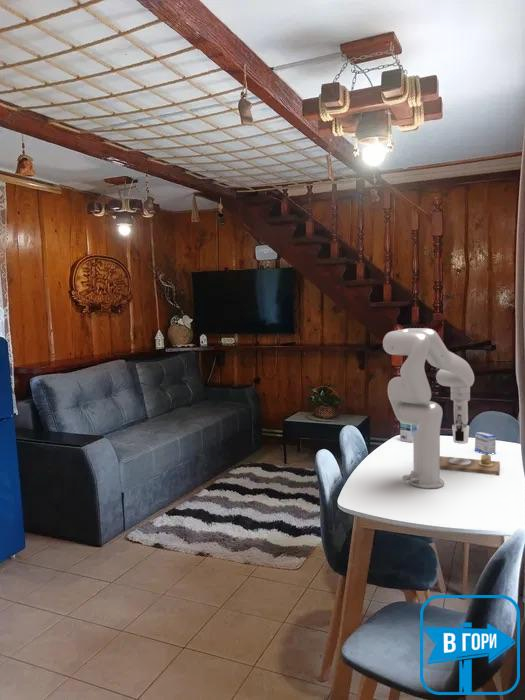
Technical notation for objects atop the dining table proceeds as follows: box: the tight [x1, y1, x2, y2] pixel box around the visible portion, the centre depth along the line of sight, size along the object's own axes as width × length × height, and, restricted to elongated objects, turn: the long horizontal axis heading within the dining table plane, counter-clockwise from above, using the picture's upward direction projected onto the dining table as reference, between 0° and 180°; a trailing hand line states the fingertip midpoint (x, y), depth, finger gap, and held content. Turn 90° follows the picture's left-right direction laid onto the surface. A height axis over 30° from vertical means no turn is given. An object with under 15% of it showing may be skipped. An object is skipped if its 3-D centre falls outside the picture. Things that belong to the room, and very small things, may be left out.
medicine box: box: [474, 431, 497, 455], centre depth 238 cm, size 8×4×9 cm, turn 25°
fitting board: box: [440, 454, 501, 476], centre depth 218 cm, size 24×14×5 cm, turn 65°
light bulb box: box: [399, 421, 420, 444], centre depth 264 cm, size 11×7×11 cm, turn 137°
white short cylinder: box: [451, 423, 470, 445], centre depth 218 cm, size 7×7×7 cm
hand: (460, 438), depth 219 cm, fingers closed on white short cylinder, 6 cm apart
